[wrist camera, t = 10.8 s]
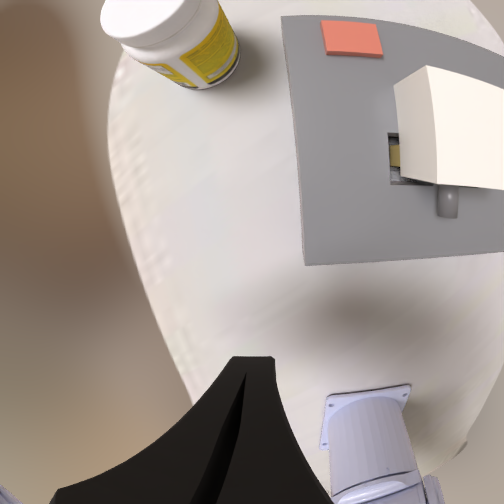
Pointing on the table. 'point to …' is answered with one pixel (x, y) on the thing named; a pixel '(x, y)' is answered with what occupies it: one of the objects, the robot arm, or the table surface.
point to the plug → (449, 133)
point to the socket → (375, 143)
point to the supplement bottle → (175, 38)
